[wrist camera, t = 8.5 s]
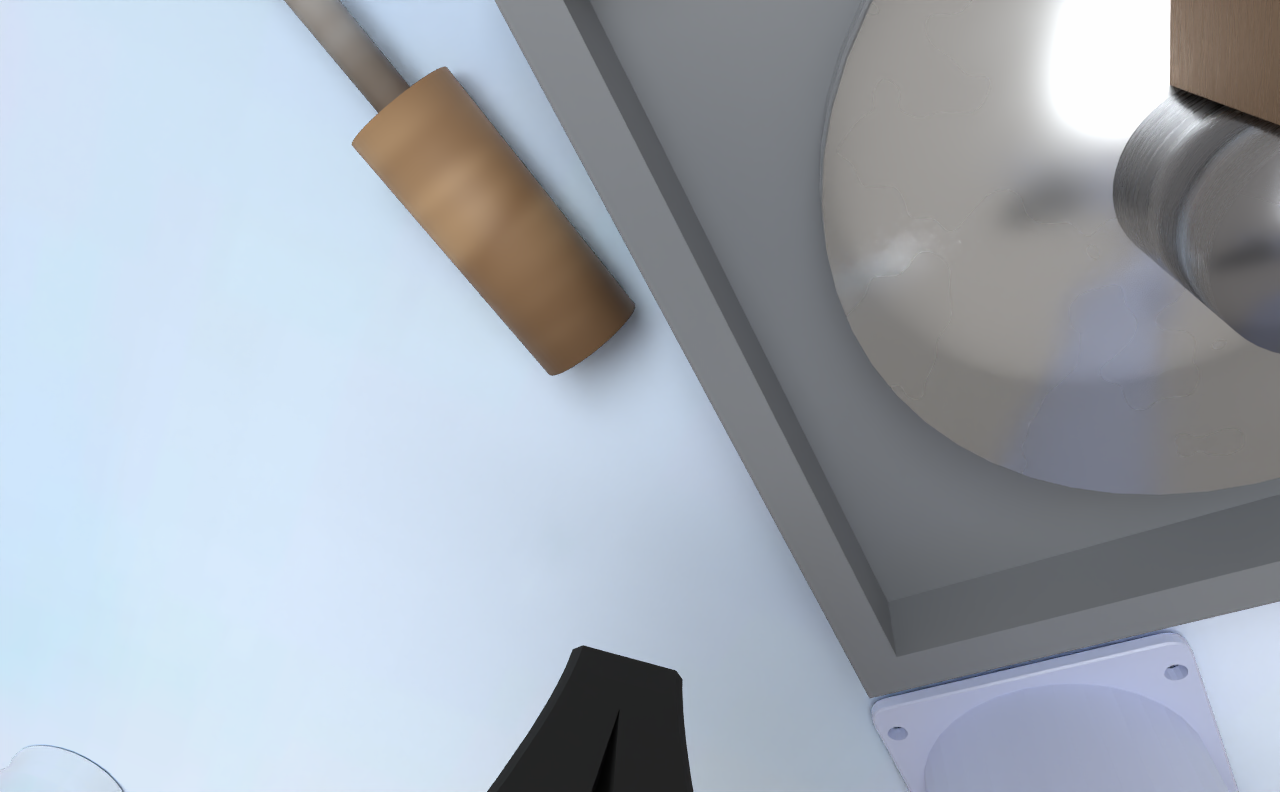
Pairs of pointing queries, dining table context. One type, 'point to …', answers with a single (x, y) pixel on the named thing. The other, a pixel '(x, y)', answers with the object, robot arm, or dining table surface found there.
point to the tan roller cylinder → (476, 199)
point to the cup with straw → (54, 772)
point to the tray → (851, 362)
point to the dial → (1067, 231)
